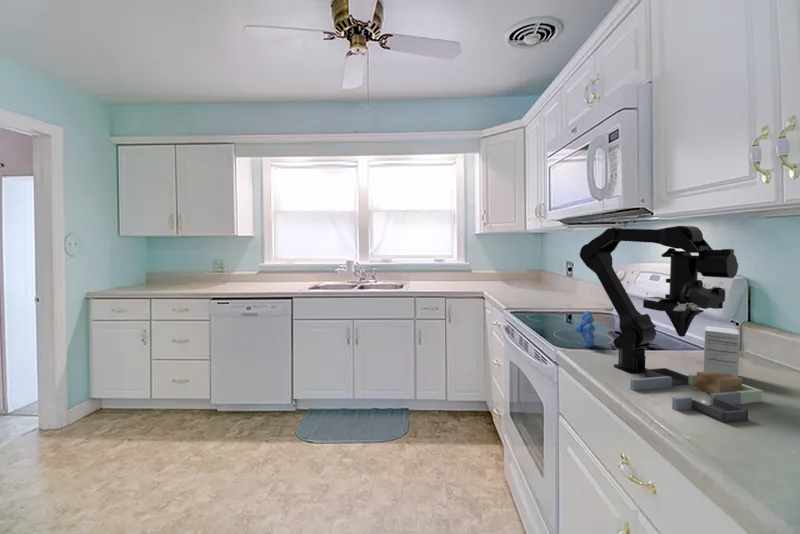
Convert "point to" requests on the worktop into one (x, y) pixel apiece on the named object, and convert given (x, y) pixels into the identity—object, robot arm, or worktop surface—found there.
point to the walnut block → (717, 382)
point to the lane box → (718, 407)
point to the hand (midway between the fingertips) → (681, 336)
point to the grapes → (586, 329)
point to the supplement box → (721, 350)
